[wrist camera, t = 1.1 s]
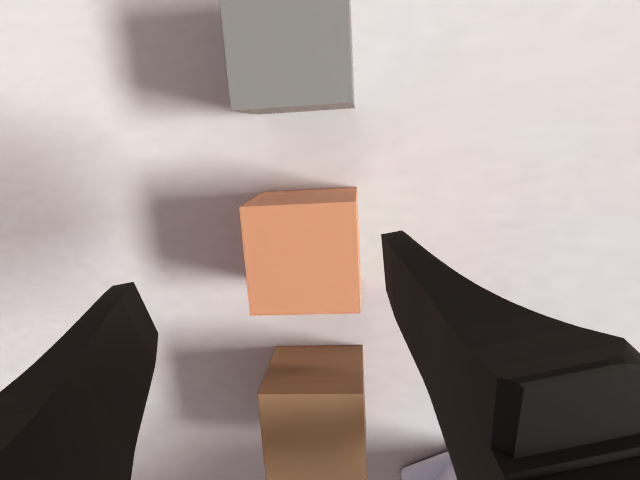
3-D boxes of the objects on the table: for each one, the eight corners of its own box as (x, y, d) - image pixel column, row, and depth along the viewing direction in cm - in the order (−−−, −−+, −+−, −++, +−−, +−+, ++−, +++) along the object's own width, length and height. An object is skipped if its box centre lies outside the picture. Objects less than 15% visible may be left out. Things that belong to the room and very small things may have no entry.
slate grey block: (354, 108, 23) (352, 102, 18) (257, 114, 24) (230, 110, 19) (350, -1, 22) (347, -38, 17) (248, 8, 22) (217, -25, 18)
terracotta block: (360, 277, 25) (360, 313, 20) (271, 280, 26) (250, 315, 21) (356, 187, 24) (355, 201, 19) (263, 191, 24) (239, 206, 20)
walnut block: (365, 421, 27) (366, 484, 22) (282, 421, 28) (266, 483, 23) (362, 344, 26) (363, 393, 21) (276, 345, 27) (257, 394, 22)
